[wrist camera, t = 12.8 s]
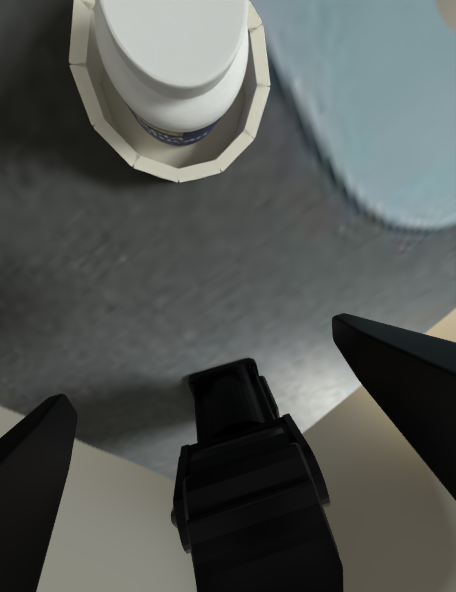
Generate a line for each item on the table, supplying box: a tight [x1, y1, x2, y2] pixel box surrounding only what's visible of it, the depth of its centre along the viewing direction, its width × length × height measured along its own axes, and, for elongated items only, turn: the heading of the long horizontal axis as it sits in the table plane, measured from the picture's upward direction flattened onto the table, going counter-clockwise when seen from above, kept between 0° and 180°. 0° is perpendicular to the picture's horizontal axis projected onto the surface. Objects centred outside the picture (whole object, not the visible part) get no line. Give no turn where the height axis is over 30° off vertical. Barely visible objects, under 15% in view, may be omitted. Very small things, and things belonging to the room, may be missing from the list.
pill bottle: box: [94, 0, 249, 146], centre depth 11 cm, size 5×5×10 cm
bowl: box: [69, 0, 270, 183], centre depth 15 cm, size 10×10×4 cm
